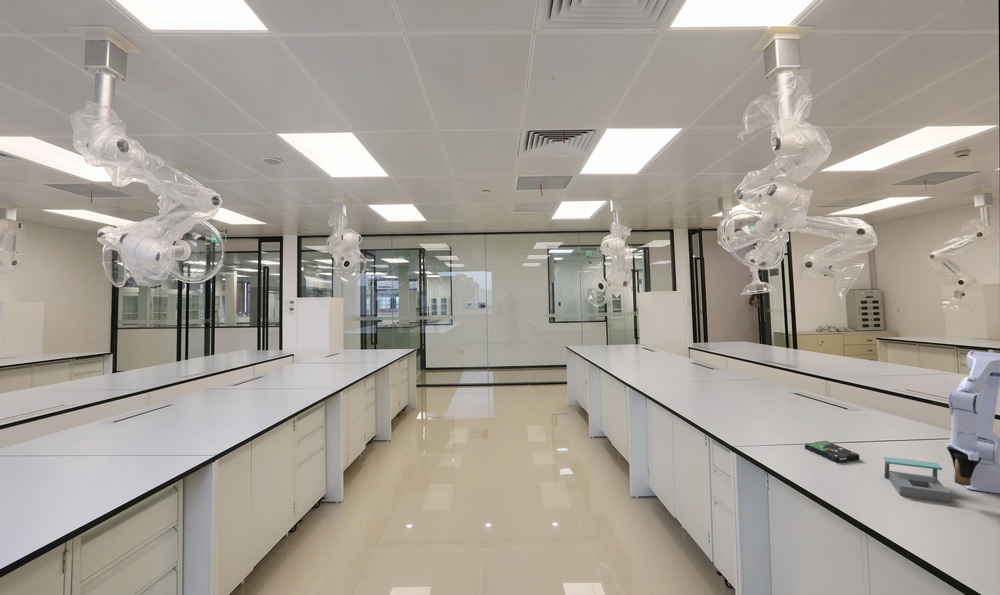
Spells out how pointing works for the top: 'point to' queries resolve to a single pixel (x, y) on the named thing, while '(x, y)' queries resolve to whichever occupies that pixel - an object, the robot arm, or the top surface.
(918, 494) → the socket block
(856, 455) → the disk drive
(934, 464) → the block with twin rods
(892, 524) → the top surface
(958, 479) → the peg
